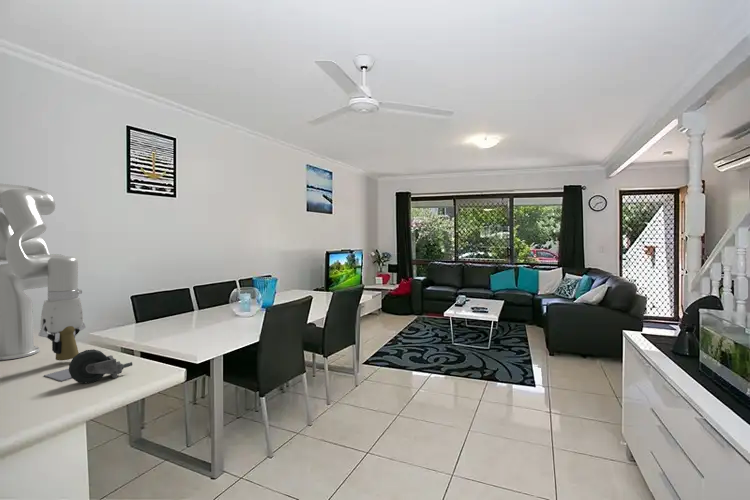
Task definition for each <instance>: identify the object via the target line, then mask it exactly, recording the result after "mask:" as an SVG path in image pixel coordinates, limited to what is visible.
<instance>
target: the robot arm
mask: <svg viewBox="0 0 750 500" xmlns="http://www.w3.org/2000/svg"><path fill="white" fill-rule="evenodd" d="M0 209H2V210H3V211H0V262H2V263H3V264H0V361H3V360H5V361H7V360H13V359H21V358H25V357H29V356H32V355H36V354H38V353H39V352H40V347H39V346H38V345H34V315H33V314H34V313H33V311H34V310H33V309H34V308H33V302H32V299H31V298H30V297H29V295H28V294H27V293H26V292H24V291H25V290H27V291H28V290H32V289H43V288H47V300H44V301H43V304H42V305H43V306H42V309H41V316H40V330H39V332H38V336H39V337H40V338H41V337H42V338H47V339H48V340H49V341H51V342H52V343H51V344H52V345H51V347H52V348H51V349H52V352H53V353H54V354H55V355H56V354H61V341H59V338H60V332H61V331H63V330H64V329H65V328H66V327H68V326H73V327H74V328H75V331H74V333H73V334H74V338H75V339H76V336H77V335H78V334H79V333H80V332H81V331H83V330H84V329H86V324H85V323H84V313H83V305H82V302H81V301H82V300H81V298H80V297H79V295H81V294H82V293H83V290H82V289H79V271H78V270H79V261H78V259H77V258H76V257H74V256H65V255H63V254H57V253H56V254H54V253H53V254H51V253H50V250H49V247H48V245H47V244H48V243H47V242H46V241H45V239H43V237H41V235H43V234H44V232H46V230H47V224H46V223H45V220H44V218H43V216H48V215H51V214H53V213H54V211H56V210H55V209H56V201H55V199H54V197H53V196H52V194H50V193H49V192H47V191H44V190H42V189H38V188H35V187H32V186H29V185H19V184H18V185H17V184H9V183H0Z"/></svg>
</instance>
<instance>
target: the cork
mask: <svg viewBox="0 0 750 500" xmlns="http://www.w3.org/2000/svg"><path fill="white" fill-rule="evenodd" d="M74 331H75V328H74V327H73V326H68V327H66V328H65V329H64V330H63V331H61V332H60V338H59V341H61V354H56V353H55V360H56V361H68V360H72V359H73V358H74V357H75V356H76V355H77V354H79V353H80V352H79V350H78V345H77V341H76V337H75V338H74V334H73V333H74Z"/></svg>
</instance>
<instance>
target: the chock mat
mask: <svg viewBox="0 0 750 500" xmlns="http://www.w3.org/2000/svg"><path fill="white" fill-rule="evenodd" d="M43 377H45V378H49V379H52V380H56V381H59V382H64V381H67V380H72V377H71V375H70V373H69V368H66V369H62V370H59V371H55V372H52V373H47V374H44V375H43Z"/></svg>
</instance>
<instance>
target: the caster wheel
mask: <svg viewBox="0 0 750 500" xmlns="http://www.w3.org/2000/svg"><path fill="white" fill-rule="evenodd" d="M132 366H133V362H132V361H131V362H125V363H121V362H120V361H117V359H116V358H114V357H113V355H106V354H104V353H103V351H101V350H97V349H85V350H82V351H81V352H79V354H77V355H76V356H75V357H74V358H73V359H71V361H70V362H69V365H68V369H69V373H70V375H71V377H72V379H73V380H74V381H75V382H76V383H78V384H79V383H80V384H91V383H94V382H96V381H99V380H101V378H103V377H104V376H105V375H110V376H111V377H112V379H117V378H118V375H120V374H122V373H123V370H124V369H125V368H128V367H132ZM72 379H71V380H72Z"/></svg>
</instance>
